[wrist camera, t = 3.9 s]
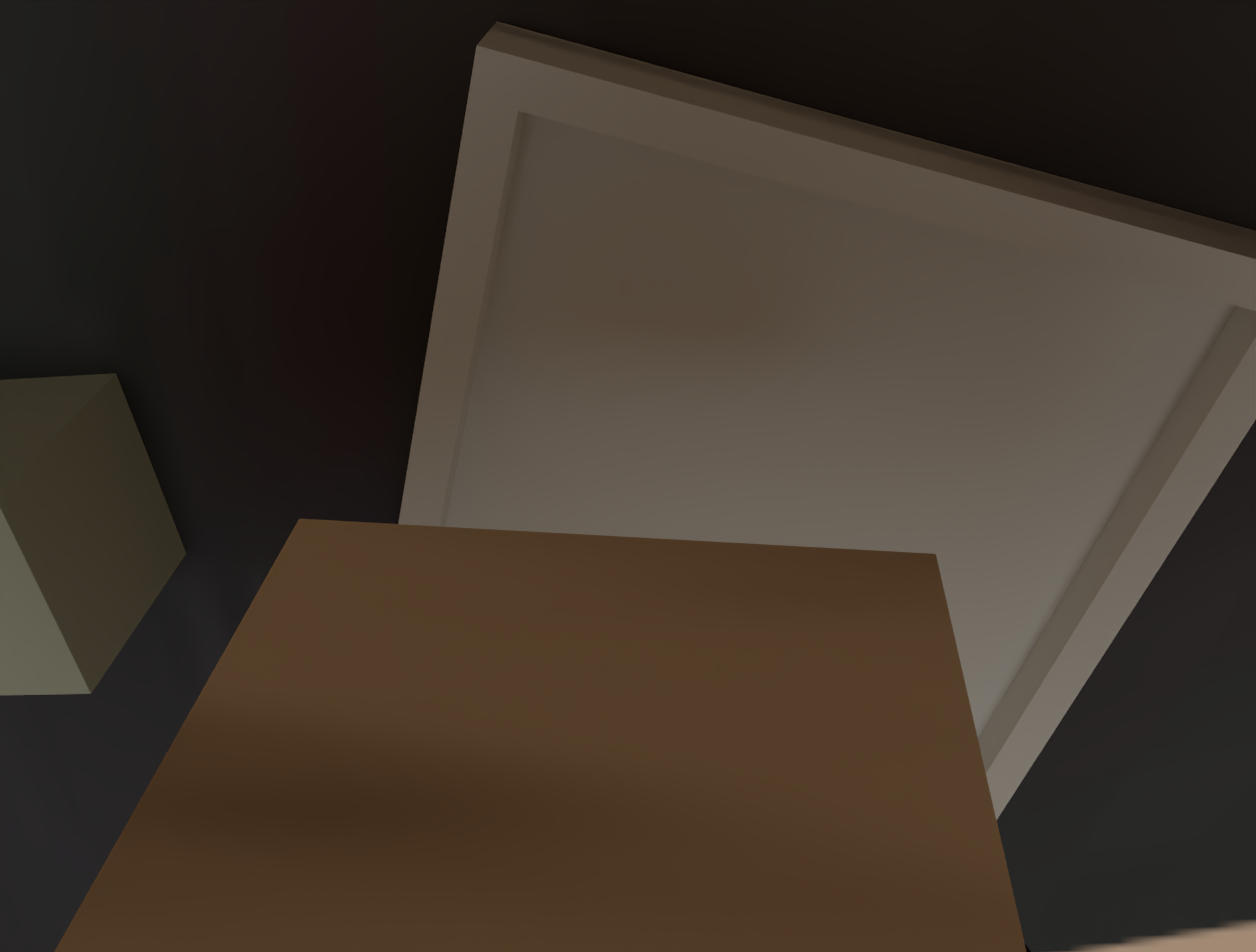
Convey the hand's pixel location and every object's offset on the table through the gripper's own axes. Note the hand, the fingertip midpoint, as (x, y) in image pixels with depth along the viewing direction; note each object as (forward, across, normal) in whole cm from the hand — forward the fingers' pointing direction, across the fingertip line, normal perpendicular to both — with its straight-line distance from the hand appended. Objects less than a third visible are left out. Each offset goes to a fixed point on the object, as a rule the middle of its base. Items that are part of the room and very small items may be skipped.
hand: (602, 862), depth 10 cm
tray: (+11, -2, +3) cm, 12 cm away
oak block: (+1, 0, 0) cm, 1 cm away
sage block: (+11, +12, +4) cm, 17 cm away
